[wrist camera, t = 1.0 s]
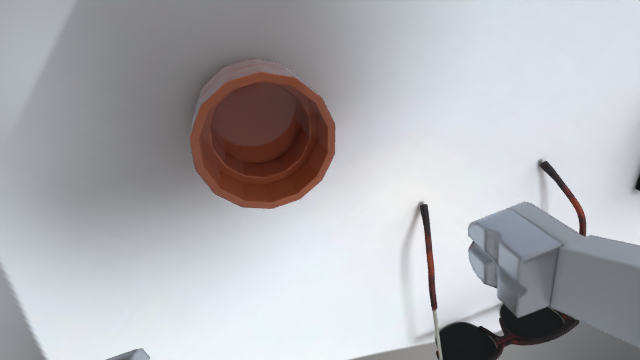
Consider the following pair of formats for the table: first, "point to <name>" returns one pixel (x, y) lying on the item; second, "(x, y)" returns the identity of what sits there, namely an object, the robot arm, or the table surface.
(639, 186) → the battery charger
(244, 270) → the table surface
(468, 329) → the sunglasses
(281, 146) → the bowl
